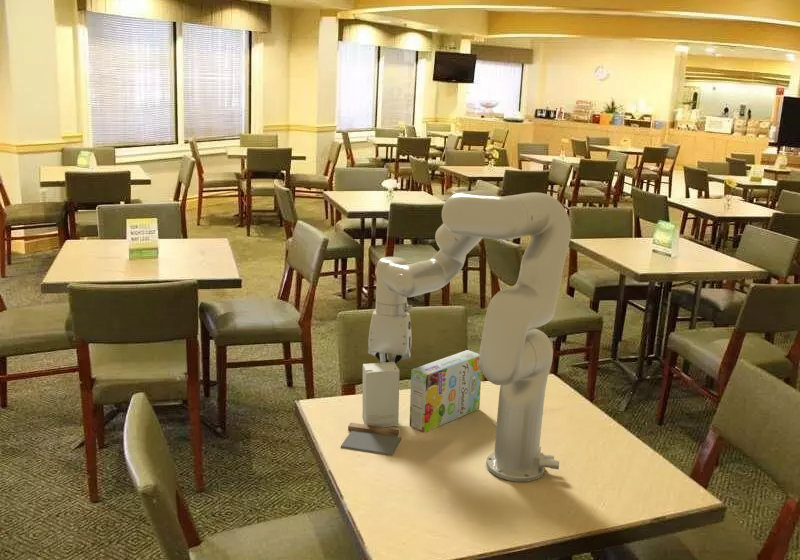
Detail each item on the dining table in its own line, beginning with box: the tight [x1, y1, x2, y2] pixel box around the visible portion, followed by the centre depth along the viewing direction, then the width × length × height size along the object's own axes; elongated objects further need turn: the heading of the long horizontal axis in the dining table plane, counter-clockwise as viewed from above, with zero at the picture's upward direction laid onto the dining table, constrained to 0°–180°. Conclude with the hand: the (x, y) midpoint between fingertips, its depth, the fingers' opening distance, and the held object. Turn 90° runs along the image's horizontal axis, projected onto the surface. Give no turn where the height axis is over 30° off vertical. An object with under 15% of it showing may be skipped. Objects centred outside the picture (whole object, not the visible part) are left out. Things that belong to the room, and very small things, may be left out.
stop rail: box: [347, 422, 400, 437], centre depth 177 cm, size 12×2×1 cm, turn 76°
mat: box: [340, 430, 402, 456], centre depth 172 cm, size 12×8×1 cm
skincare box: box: [361, 361, 401, 428], centre depth 181 cm, size 8×6×15 cm
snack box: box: [409, 349, 482, 434], centre depth 185 cm, size 21×6×15 cm, turn 136°
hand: (388, 378), depth 187 cm, fingers closed
